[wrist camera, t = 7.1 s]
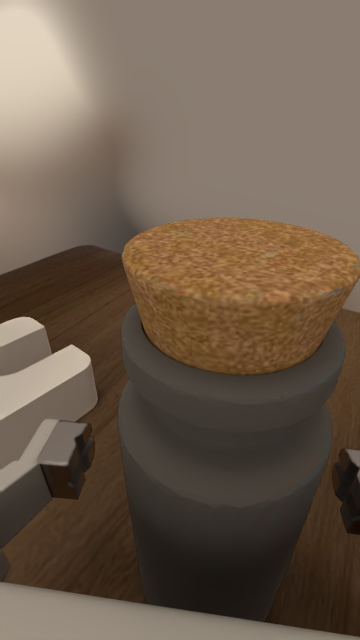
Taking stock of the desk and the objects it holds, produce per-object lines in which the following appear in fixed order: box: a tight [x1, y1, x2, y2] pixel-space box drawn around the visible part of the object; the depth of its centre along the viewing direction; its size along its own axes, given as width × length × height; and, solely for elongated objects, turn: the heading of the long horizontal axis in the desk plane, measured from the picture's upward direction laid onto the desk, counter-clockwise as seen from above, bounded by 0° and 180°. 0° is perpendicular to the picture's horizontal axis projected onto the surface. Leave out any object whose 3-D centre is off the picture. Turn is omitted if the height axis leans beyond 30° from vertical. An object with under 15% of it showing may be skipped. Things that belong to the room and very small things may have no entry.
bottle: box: [118, 218, 360, 622], centre depth 11 cm, size 6×6×15 cm
